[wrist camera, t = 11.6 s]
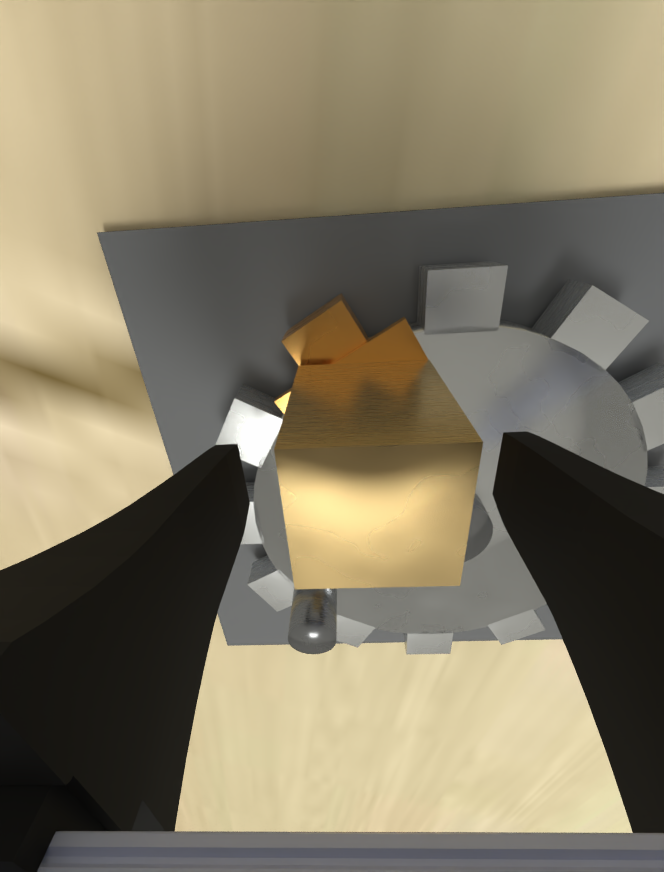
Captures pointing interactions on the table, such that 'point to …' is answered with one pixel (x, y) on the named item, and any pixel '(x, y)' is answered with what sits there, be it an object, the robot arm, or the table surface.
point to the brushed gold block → (376, 476)
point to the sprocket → (490, 416)
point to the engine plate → (371, 304)
